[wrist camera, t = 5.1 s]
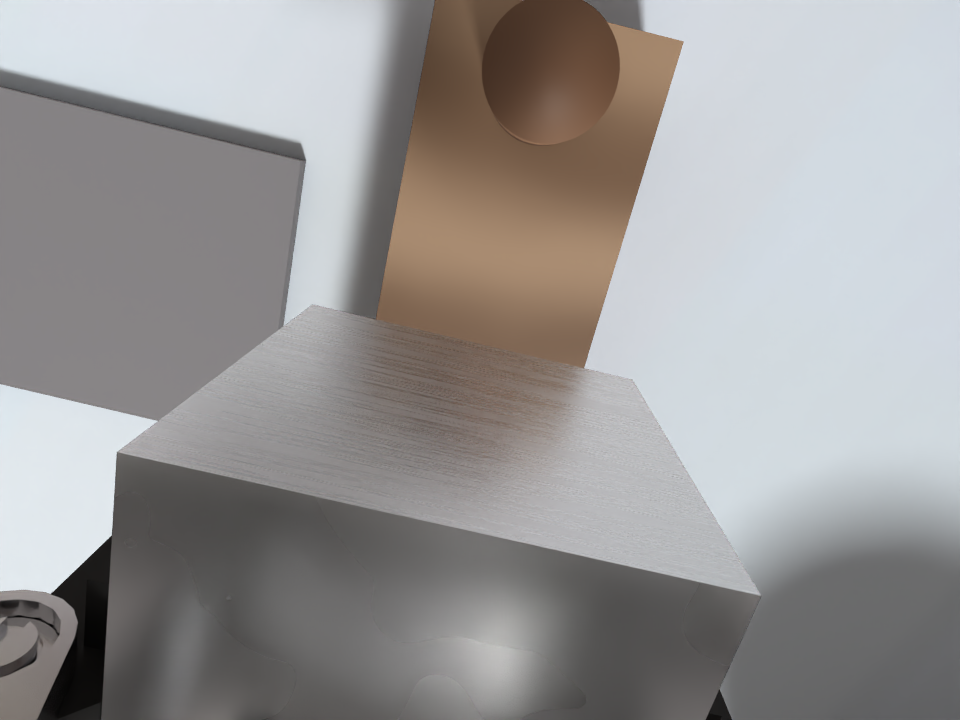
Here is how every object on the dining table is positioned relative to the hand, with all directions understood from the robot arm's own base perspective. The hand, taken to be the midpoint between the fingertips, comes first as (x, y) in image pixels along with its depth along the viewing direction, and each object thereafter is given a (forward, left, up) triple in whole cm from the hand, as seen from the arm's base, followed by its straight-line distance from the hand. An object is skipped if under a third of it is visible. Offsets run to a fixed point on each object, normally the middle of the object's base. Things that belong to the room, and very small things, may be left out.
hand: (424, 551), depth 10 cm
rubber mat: (-2, +14, -16) cm, 21 cm away
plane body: (0, 0, -16) cm, 16 cm away
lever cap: (0, 0, 0) cm, 0 cm away
